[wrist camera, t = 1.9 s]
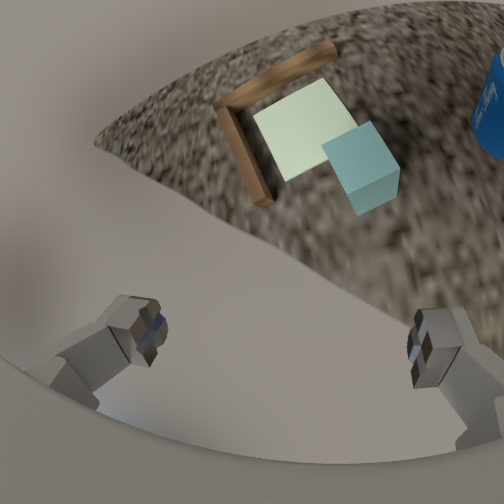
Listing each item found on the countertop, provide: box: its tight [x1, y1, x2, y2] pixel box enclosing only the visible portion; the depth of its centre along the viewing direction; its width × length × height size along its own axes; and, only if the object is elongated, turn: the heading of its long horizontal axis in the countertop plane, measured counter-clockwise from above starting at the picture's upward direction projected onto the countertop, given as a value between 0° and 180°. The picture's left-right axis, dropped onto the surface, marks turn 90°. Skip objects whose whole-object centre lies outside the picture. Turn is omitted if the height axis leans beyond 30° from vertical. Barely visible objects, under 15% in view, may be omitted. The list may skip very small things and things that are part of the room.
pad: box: [253, 78, 358, 182], centre depth 29 cm, size 10×10×1 cm
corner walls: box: [213, 39, 339, 208], centre depth 29 cm, size 17×15×2 cm
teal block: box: [321, 121, 400, 216], centre depth 23 cm, size 4×4×8 cm
